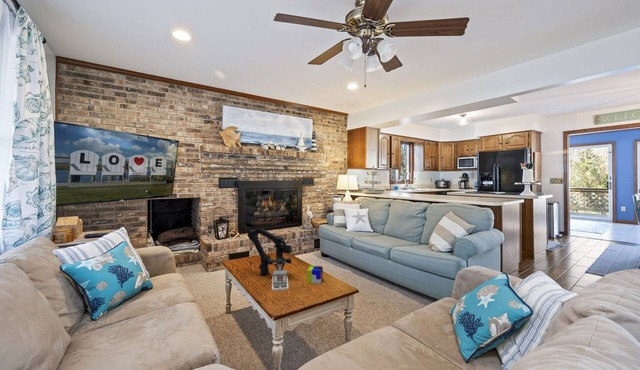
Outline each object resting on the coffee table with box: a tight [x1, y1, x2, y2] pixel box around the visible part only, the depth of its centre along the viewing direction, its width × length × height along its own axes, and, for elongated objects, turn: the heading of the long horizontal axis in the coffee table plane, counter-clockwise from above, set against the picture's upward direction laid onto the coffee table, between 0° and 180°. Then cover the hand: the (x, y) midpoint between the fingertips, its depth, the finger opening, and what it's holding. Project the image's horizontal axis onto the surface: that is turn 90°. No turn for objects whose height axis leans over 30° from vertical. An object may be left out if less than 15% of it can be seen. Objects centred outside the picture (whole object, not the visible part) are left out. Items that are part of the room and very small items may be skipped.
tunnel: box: [272, 269, 288, 286], centre depth 202 cm, size 7×10×8 cm
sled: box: [276, 264, 284, 281], centre depth 214 cm, size 16×6×8 cm, turn 9°
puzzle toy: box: [307, 265, 324, 285], centre depth 210 cm, size 10×10×10 cm
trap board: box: [271, 275, 289, 292], centre depth 206 cm, size 24×12×2 cm, turn 9°
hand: (279, 271), depth 220 cm, fingers closed on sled, 2 cm apart
